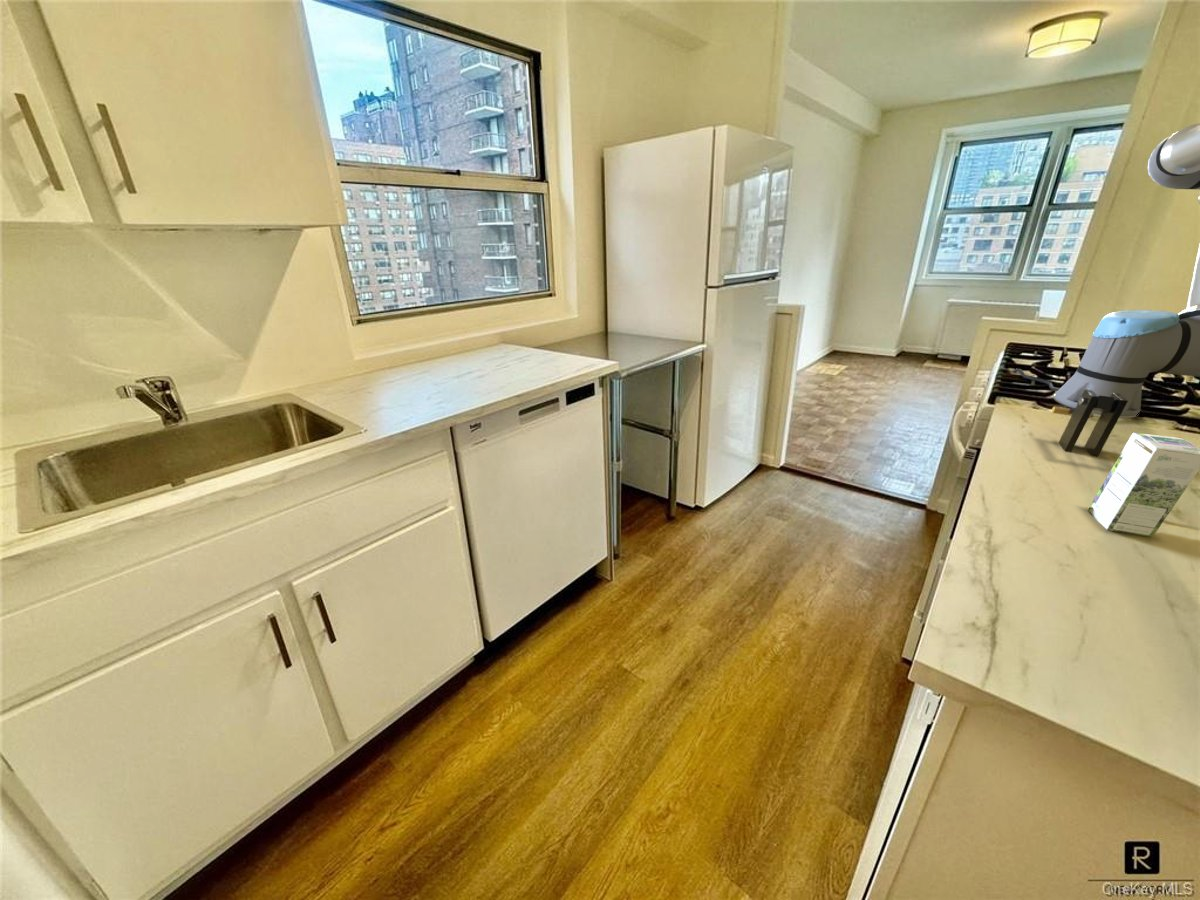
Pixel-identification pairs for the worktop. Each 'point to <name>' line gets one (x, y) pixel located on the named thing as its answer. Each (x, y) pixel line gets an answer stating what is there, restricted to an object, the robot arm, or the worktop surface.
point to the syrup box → (1145, 483)
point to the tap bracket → (1101, 427)
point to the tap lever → (1101, 405)
